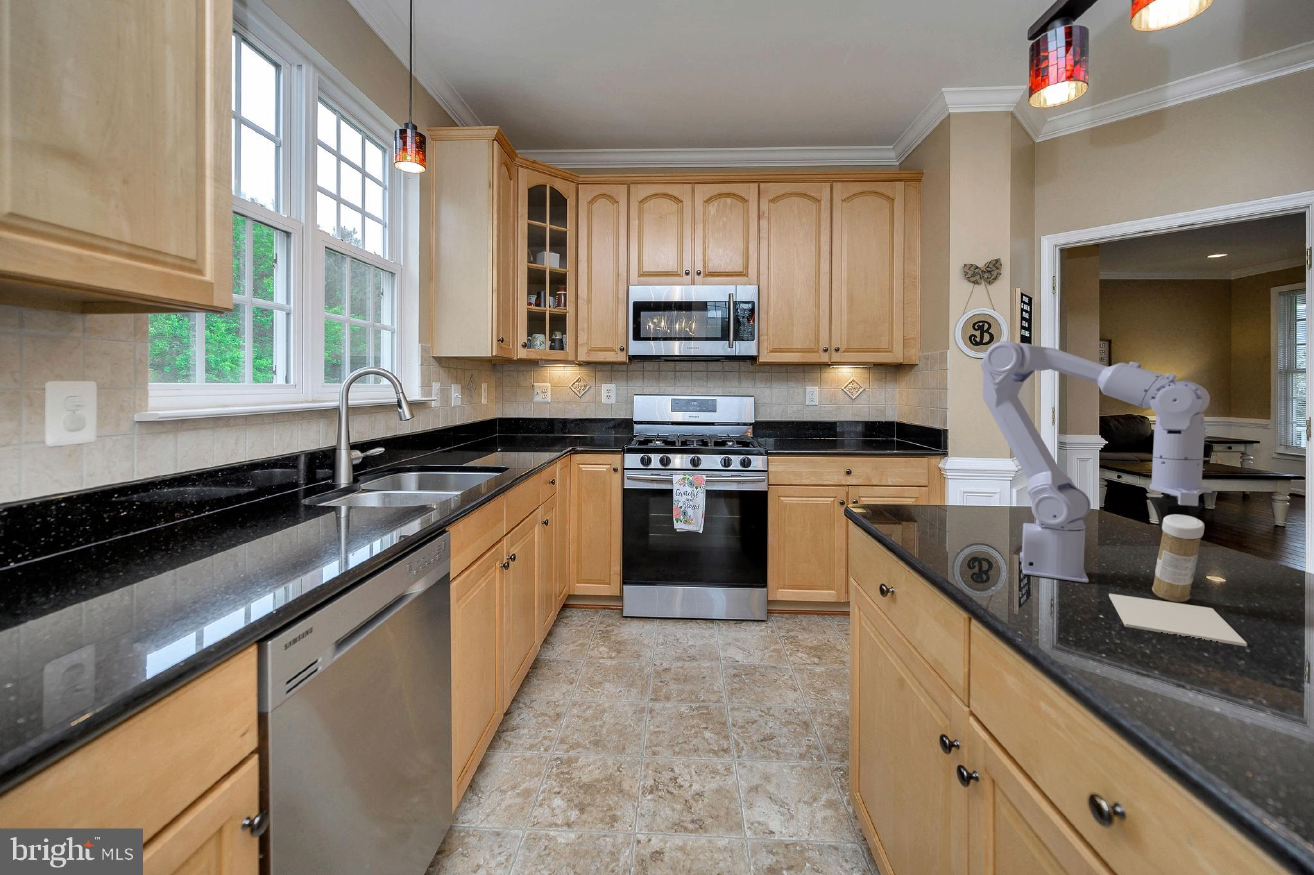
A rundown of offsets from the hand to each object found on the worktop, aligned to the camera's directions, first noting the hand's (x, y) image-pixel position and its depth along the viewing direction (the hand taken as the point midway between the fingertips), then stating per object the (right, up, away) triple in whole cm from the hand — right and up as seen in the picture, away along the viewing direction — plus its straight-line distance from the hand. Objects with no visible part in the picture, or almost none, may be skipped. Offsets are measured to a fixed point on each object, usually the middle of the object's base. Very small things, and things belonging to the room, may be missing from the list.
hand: (1172, 543), depth 86 cm
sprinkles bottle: (0, -9, 0) cm, 9 cm away
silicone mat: (-7, -10, -7) cm, 14 cm away
